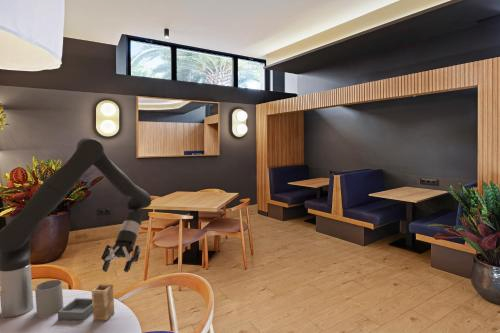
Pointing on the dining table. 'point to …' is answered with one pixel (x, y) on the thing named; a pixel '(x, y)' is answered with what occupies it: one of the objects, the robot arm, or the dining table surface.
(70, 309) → the tray
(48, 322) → the dining table surface
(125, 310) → the dining table surface
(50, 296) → the cup
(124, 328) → the dining table surface
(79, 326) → the dining table surface
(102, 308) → the oak crate
